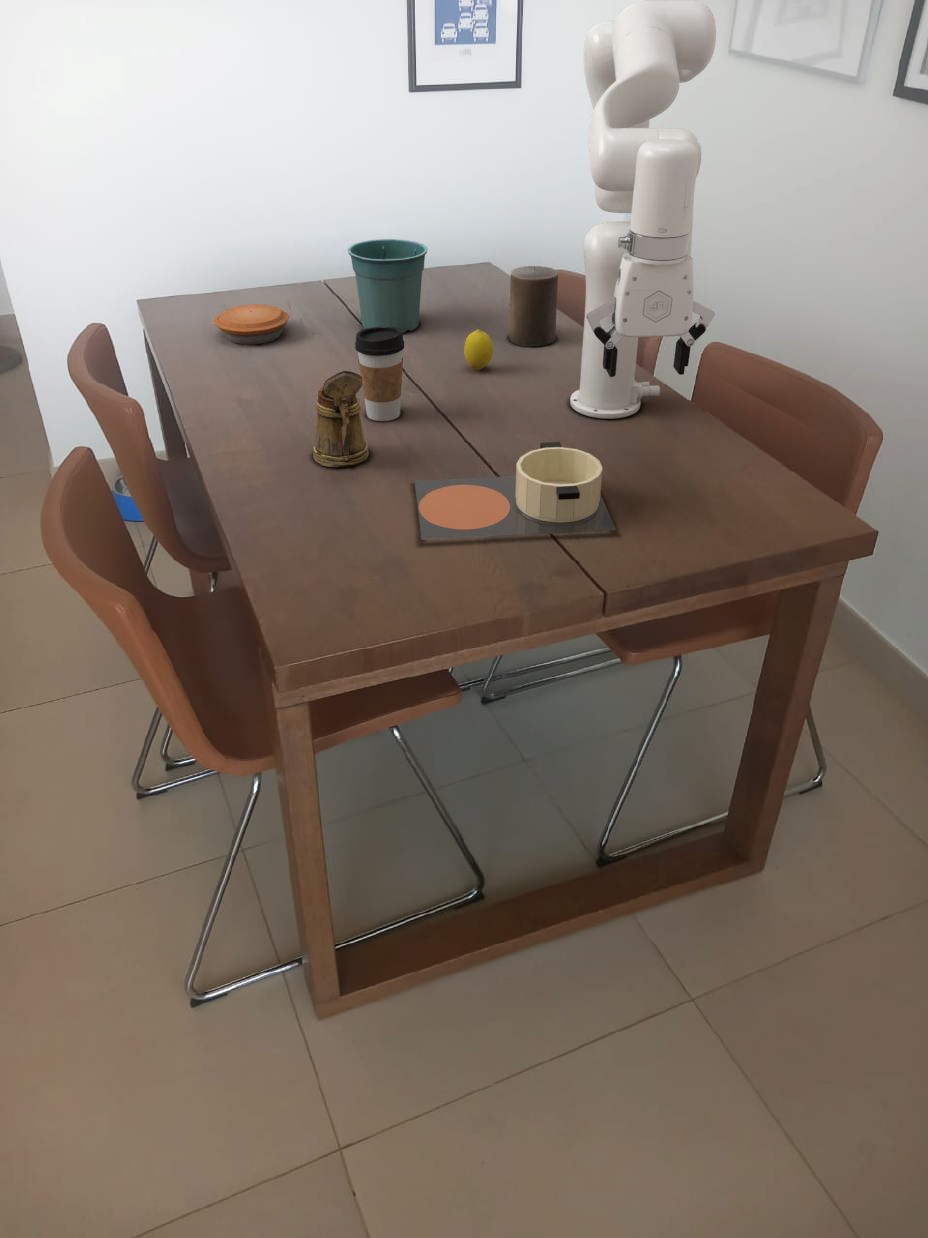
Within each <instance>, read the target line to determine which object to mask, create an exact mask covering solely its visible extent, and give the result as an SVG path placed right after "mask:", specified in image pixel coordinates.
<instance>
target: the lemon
mask: <svg viewBox="0 0 928 1238" xmlns="http://www.w3.org/2000/svg"><path fill="white" fill-rule="evenodd" d="M493 353H494V349H493V342H492V339H491V337H490V336H489V334H487V332H485V331H482V330H481V329H476V330H474V331H472V332H471V333H470V334H468V335H467V337H466V339H465V342H464V345H463V354H464V358H465V361H466V363H467V364H468V365H469V366H470V367H472V368H474V369H475V370H476V371H480V370H481V369H482V368H484V367H486V366H487V365H489V363H490V362H491V360H492V358H493Z"/></svg>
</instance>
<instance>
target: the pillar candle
mask: <svg viewBox="0 0 928 1238" xmlns="http://www.w3.org/2000/svg"><path fill="white" fill-rule="evenodd" d="M509 281H510V282H509V283H510V285H509V286H510V287H509V318H508V339H509V340H510V342H512V343H514V344H515V345H518V346H522V347H545V346H548V345H551V344H552V343H554V342H555V341H556V331H557V328H556V327H557V310H558V309H557V308H558V307H557V306H558V285H559V283H558V281H559V271H557V270H556V269H555V268H553V267H549V266H541V265H528V266H519V267H518V266H517V267H514V268H513V269H512V270H511V271H510V280H509Z"/></svg>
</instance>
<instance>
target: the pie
mask: <svg viewBox="0 0 928 1238" xmlns="http://www.w3.org/2000/svg"><path fill="white" fill-rule="evenodd" d="M289 319H290V315H289V313H288V312H287V311H285V310H283V309H281V308H278V307H277V306H275V305H271V304H270V305H269V304H264V303H263V304H260V303H251V304H243V305H237V306H232V307H230V308H228V309H225V310H224V311H222V312H221V313H220V314H218V315H216V316H214V319H213V324H214V325H215V326H216V328H218V330H220V331H221V332H222V334H223V335H224V336H225V338H226V339H228V340H229V341H230V342H232V343H235V344H239V345H260V344H265V343H269V342H272V341H274V340H277V339H278V338H279V337H280V336H281V335H282V332H283V330H284V329H285V327H286V325H287V324H288V323H287V322H288V321H289Z"/></svg>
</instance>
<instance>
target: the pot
mask: <svg viewBox="0 0 928 1238" xmlns="http://www.w3.org/2000/svg"><path fill="white" fill-rule="evenodd" d="M539 445H540V446H539V448H538V449H533V450H529V451H528V452H527V453H524V454H523V455H521V456H520V457H519V459H518V461H517V462H516V464H515V465H516V466H515V467H516V468H515V476H516V493H515V497H516V504H517V506H518V508H519V509H520V510H521V511H522V512H523V513H525V514H526V515H528V516H530V517H532V518H535V519H538V520H542V521H547V522H558V523H561V522H573V521H578V520H582V519H585V518H587V517H589V516H591V515H592V514H593V513H595V511H596V510H597V508H598V506H599V501H600V494H601V492H602V482H603V481H602V479H603V471H604V470H603V466H602V463H601V461H600V459H598V458H597V457H595V456H594V455H593V454H591V453H590V452H587V451H583V450H581V449H578V448H570V447H563V446H562V444H561V441H548V442H540V444H539Z"/></svg>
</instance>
